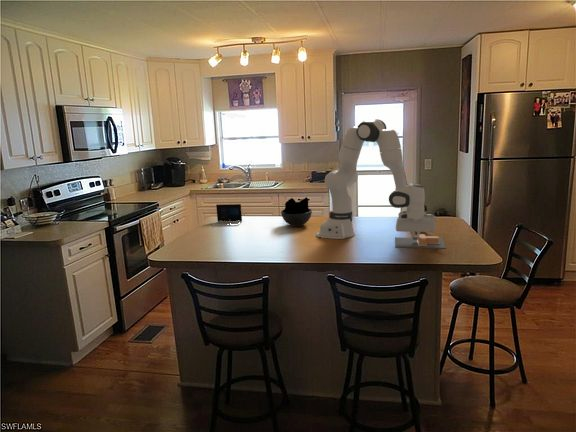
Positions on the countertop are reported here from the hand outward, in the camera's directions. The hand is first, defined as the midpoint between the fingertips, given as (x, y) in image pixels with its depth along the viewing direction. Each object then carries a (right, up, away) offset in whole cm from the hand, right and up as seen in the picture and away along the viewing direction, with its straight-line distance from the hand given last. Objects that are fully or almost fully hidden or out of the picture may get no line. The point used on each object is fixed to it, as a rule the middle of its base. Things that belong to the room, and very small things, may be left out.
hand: (414, 239), depth 226 cm
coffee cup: (+10, +3, +24) cm, 26 cm away
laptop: (-110, +7, +65) cm, 128 cm away
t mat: (+2, -2, 0) cm, 3 cm away
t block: (+7, -2, -1) cm, 7 cm away
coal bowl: (-62, +6, +51) cm, 80 cm away
